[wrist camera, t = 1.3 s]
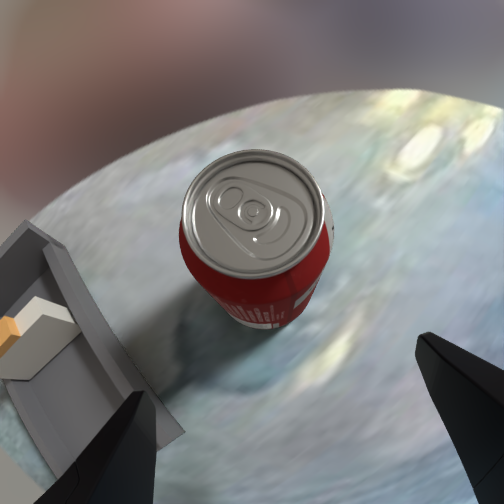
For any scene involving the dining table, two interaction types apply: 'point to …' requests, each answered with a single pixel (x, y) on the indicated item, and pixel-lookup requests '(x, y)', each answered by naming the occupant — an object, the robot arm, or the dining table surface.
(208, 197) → the soda can
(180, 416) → the dining table surface
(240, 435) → the dining table surface
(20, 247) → the tray
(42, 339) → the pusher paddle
